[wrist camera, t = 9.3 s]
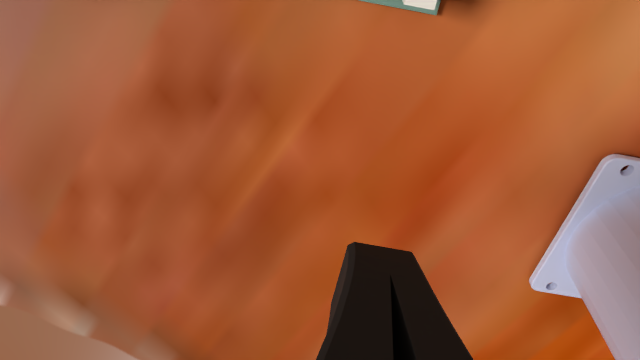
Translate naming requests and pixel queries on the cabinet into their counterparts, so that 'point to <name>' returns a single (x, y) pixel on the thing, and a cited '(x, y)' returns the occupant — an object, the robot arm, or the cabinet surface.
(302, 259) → the cabinet surface
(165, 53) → the cabinet surface
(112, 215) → the cabinet surface
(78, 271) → the cabinet surface
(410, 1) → the frame
